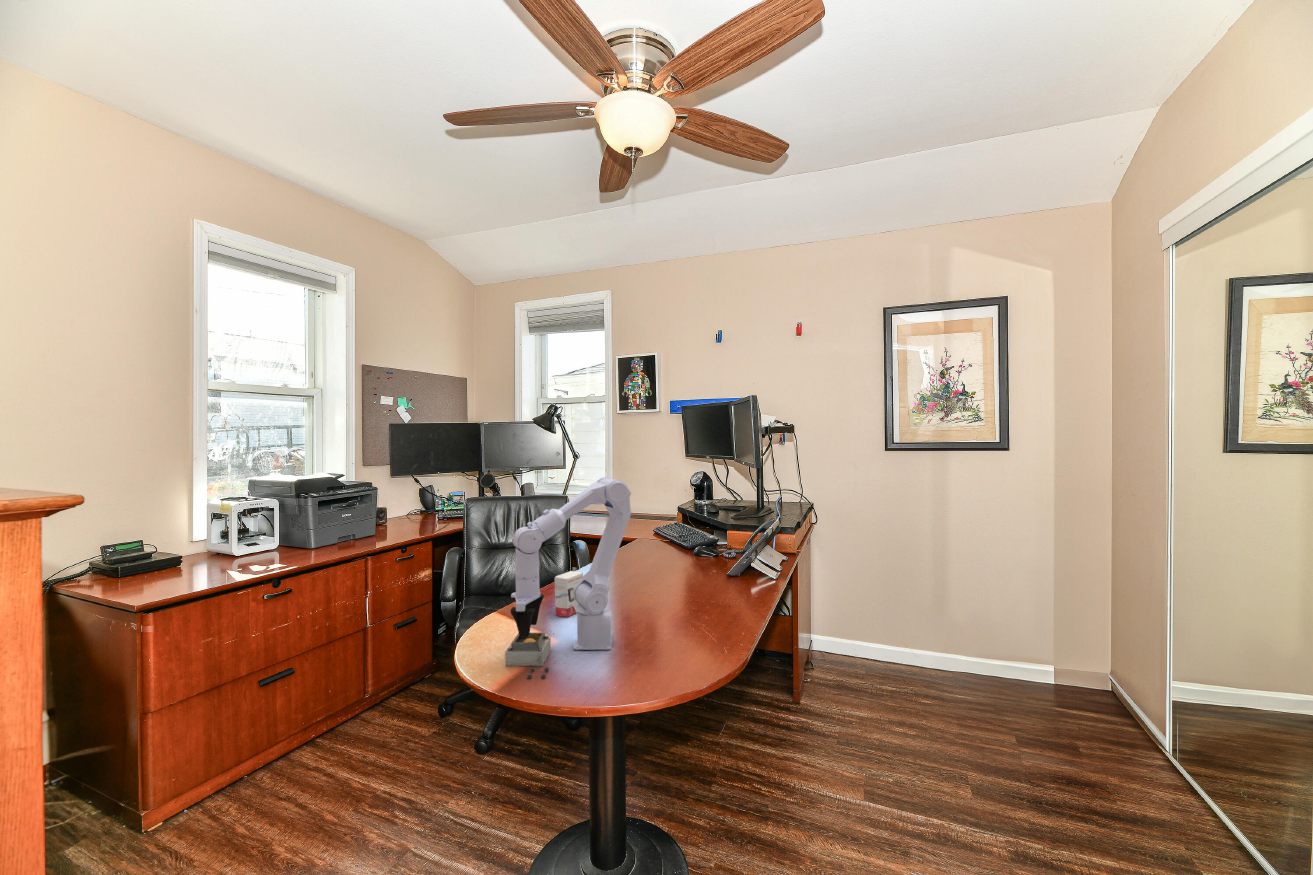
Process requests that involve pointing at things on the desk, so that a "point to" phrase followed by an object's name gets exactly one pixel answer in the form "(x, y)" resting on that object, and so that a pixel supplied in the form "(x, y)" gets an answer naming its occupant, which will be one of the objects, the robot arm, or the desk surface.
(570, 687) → the desk surface
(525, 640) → the ball
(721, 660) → the desk surface
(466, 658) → the desk surface
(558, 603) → the ink box
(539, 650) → the silver open square box
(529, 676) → the cradle
